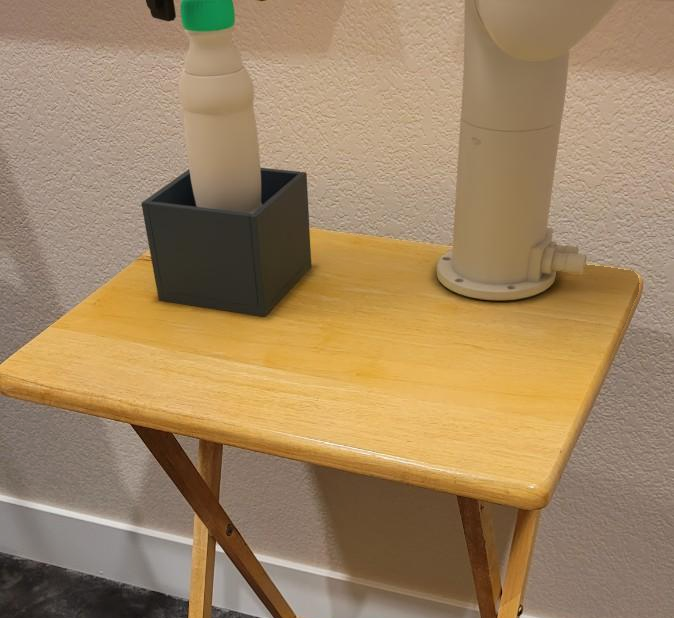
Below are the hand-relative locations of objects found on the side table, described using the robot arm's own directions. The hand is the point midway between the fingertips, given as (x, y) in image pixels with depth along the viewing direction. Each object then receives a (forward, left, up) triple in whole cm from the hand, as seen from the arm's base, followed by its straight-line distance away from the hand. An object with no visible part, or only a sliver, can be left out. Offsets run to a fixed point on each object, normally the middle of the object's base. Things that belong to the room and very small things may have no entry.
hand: (210, 8), depth 78 cm
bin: (0, 0, -25) cm, 25 cm away
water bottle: (0, 0, -24) cm, 24 cm away
